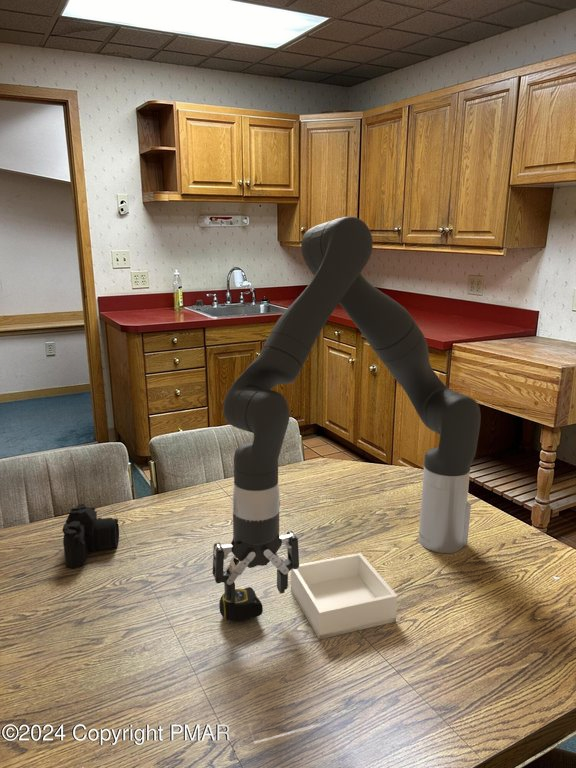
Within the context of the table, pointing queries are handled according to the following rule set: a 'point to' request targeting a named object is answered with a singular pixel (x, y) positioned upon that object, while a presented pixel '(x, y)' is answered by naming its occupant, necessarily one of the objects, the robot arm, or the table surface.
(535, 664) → the table surface
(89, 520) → the film camera
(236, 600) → the tape measure
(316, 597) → the bin
